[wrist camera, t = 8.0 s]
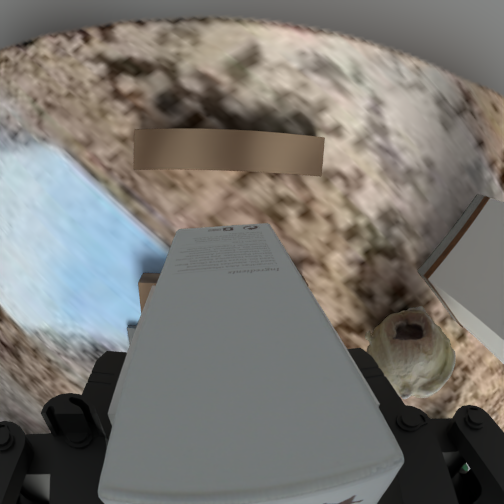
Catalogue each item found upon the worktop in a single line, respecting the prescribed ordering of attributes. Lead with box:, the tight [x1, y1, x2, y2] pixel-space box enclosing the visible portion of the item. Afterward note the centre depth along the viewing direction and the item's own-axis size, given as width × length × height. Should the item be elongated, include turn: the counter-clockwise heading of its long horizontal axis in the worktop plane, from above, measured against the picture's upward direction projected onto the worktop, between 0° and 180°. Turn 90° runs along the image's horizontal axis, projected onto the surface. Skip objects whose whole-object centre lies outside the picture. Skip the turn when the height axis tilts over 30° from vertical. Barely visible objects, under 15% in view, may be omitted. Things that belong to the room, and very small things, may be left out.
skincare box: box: [98, 223, 404, 504], centre depth 9 cm, size 6×4×12 cm
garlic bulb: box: [365, 306, 456, 399], centre depth 27 cm, size 9×8×10 cm
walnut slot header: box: [134, 129, 325, 313], centre depth 25 cm, size 14×15×2 cm
